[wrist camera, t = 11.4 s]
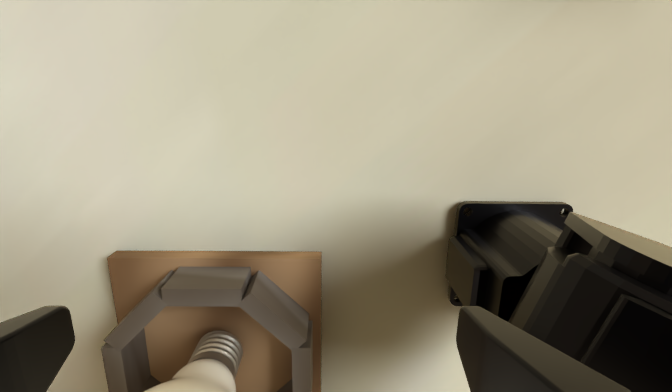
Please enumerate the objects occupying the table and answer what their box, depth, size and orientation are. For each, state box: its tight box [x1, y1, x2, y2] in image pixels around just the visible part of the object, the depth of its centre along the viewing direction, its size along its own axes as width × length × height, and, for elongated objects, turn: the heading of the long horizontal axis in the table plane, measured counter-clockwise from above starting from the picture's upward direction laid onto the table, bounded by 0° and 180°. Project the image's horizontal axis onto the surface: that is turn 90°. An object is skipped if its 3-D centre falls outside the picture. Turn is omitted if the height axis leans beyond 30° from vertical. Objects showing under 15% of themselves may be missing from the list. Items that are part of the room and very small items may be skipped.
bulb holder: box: [101, 251, 321, 392], centre depth 22 cm, size 12×12×4 cm
